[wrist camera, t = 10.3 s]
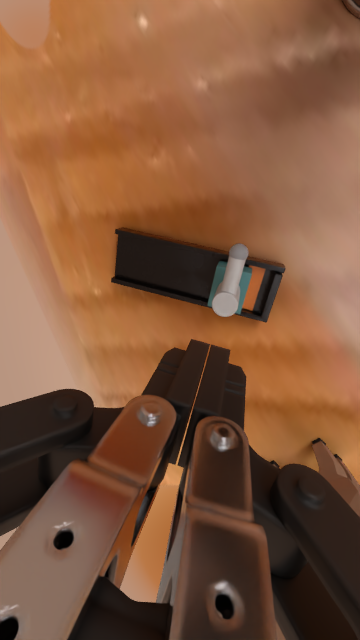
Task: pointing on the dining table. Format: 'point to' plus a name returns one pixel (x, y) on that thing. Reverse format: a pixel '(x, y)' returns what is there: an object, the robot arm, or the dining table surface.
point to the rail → (189, 271)
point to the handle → (230, 283)
